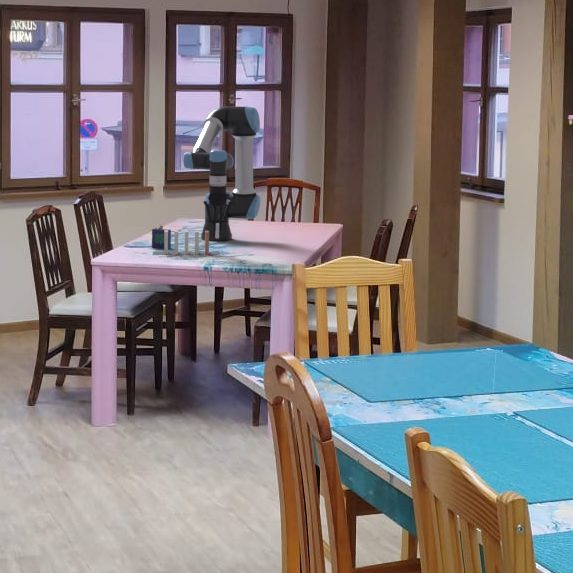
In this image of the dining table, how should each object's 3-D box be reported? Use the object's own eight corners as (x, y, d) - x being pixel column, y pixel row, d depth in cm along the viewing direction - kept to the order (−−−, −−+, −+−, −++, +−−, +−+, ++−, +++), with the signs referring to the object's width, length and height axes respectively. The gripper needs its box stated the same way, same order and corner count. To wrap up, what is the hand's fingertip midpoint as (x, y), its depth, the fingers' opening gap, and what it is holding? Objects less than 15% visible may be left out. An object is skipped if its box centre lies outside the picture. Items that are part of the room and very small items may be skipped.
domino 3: (184, 254, 529) (184, 231, 527) (184, 252, 534) (184, 230, 532) (188, 254, 529) (188, 232, 528) (188, 252, 534) (188, 230, 532)
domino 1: (164, 254, 528) (164, 231, 527) (164, 252, 533) (164, 230, 531) (167, 254, 528) (168, 231, 527) (167, 252, 533) (168, 230, 532)
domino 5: (205, 254, 530) (205, 232, 528) (204, 252, 535) (205, 230, 533) (208, 254, 530) (209, 232, 529) (208, 252, 535) (208, 230, 533)
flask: (171, 248, 547) (171, 225, 545) (169, 249, 545) (169, 226, 543) (153, 247, 550) (153, 224, 548) (150, 248, 547) (150, 225, 545)
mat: (152, 255, 525) (152, 254, 525) (152, 252, 535) (152, 251, 535) (220, 256, 528) (220, 255, 528) (219, 252, 538) (219, 252, 538)
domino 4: (194, 254, 530) (195, 232, 528) (194, 252, 535) (194, 230, 533) (198, 254, 530) (198, 232, 528) (198, 252, 535) (198, 230, 533)
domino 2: (174, 254, 529) (174, 231, 527) (174, 252, 534) (174, 230, 532) (178, 254, 529) (178, 231, 527) (178, 252, 534) (178, 230, 532)
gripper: (203, 185, 523) (202, 239, 527) (233, 186, 525) (232, 239, 529) (202, 184, 531) (202, 236, 535) (232, 184, 532) (231, 237, 536)
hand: (217, 238), depth 532 cm, fingers closed
